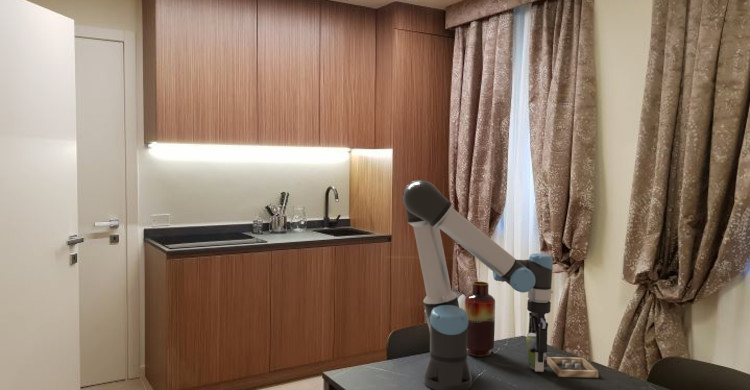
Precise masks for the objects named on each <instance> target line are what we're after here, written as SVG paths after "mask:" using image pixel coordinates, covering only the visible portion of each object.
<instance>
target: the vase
mask: <svg viewBox="0 0 750 390" xmlns="http://www.w3.org/2000/svg"><path fill="white" fill-rule="evenodd" d="M471 285H472V287H471V289H472V290H471V293H469V294H467V296H466V297H465V298H464V310H465V311H466V313H467V316H468V330H467V355H469V356H471V357H472V356H473V357H476V358H485V357H486V358H487V357H489V356H491V354H492V352H491V350H493V349H494V347H495V331H496V330H495V328H496V327H495V326H496V324H495V323H496V299H495V298H494V296H492V295H491V294H489V293H490V292H489V288H490V287H489V282H486V281H472V284H471Z"/></svg>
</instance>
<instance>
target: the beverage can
mask: <svg viewBox="0 0 750 390" xmlns="http://www.w3.org/2000/svg"><path fill="white" fill-rule="evenodd" d="M525 343H526V350H527V357H528V366H529V368H531V369H532V370H534V371H535V354H536V352H535V350H537V344H536V332H535V333H528V332H527V335H526V338H525ZM547 357H548V356H547V353H544V370H545V369H546V368H547V367H549V366H548V364H547Z"/></svg>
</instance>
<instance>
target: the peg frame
mask: <svg viewBox="0 0 750 390" xmlns="http://www.w3.org/2000/svg"><path fill="white" fill-rule="evenodd" d="M558 364H559V365H561V368H562V369H561V368H560V367H559V366H558ZM547 365H549V366H548V367H550V368H551V369H552V371H553V372H554V373H555V374H556V376H557V377H563V378H599V370H598V369H597V368H596V367H594V366H593V365H592V364H591V362H589V361H588V360H587V359H586V358H585V357H572V356H571V357H565V356H564V357H563V356H547ZM582 367H584V368H585V369H582Z"/></svg>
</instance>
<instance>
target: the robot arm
mask: <svg viewBox="0 0 750 390" xmlns="http://www.w3.org/2000/svg"><path fill="white" fill-rule="evenodd" d="M402 202H403V205H404V209H405V214H406V220H407V224H409V225H410V226H412V228H413V232H414V237H415V241H416V248H417V253H418V258H419V262H420V263H419V264H420V268H421V273H422V278H423V284H424V288H425V294H426V296H425V297H424V299H422V301H423V306H424V311H425V321H426V323H427V327H428V329H429V330H428V331H429V358H428V360H427V365H426V367H425V370H424V373H423V383H424V385H425V386H426V387H428V388H429V389H432V390H469V389H470V388H471V387H472V385H473V377H472V374H471V371H470V366H469V363H468V360H467V359H468V358H467V357H468V354H467V349H468V348H467V330H468V316H467V313H466V311H465V309H463V308H462V307H460V305H459V300H458V295H457V293H456V292H454V291H453V290H452V287H451V280H450V276H449V275H450V274H449V271H448V267H447V261H446V255H445V251H444V245H443V239H442V235H441V231H442V232H443V233H445V234H446V235H447V236H449V237H450V238H451V239H452V240H453V241H454V242H456V243H457V244H458V245H459V246H460V247H462V248H463V249H465V250H466V251H467V252H469V253H470V254H471V256H474V257H475V259H477V260H478V261H480V262H481V263H482V264H483V265H485V267H487V268H488V269H489V270H490V271H492V276H493V280H494V281H496V282H501V283H503V282H505V283H507V284H508V285H509V287H511V288H512V289H513V290H514V291H516V292H519V293H527V298H528V299H527V304H526V305H527V311H528V312H529V313H528V316H529V319H528V332H527V334H528V333H535V332H536V344H537V350H535V352H536V354H535V370H534V372H544V370H545V369H544V353H546V354H547V353H548V327H549V323H548V322H547V319H546V317H545V316H546V315H547V314H549V313H550V312H551V307H552V305H551V304H552V302H551V299H552V294H553V292H554V291H553V290H552V281H553V270H554V269H553V263H554V262H553V257H552V255H549V254H546V253H531V254H530V255H529V257H528V259H516V258H515V257H514V256H512V254H510V253H509V252H507V250H505V249H504V248H503V247H501V246H500V245H499V244H498V243H497V242H495V241H494V240H493V239H491V238H490V237H489V236H488V235H487V234H485V233H484V232H483V231H482V230H480V229H479V228H478V227H477V226H476V225H475V224H473V223H472V222H471V221H469V220H468V219H467V218H466V217H464V216H463V215H462V214H461V213H460V212H458V211H457V210H456V209H455V208H454V204H453V203H452V202H451V201H449V199H448V198H446V196H444V195H443V193H441V191H440V190H439V189H438V187H436V186H435V185H434V183H432V182H430V181H427V180H425V179H416V180H412V181H411V182H410V183H408V184H407V185H406V186H405V188H404V190H403V192H402Z"/></svg>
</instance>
